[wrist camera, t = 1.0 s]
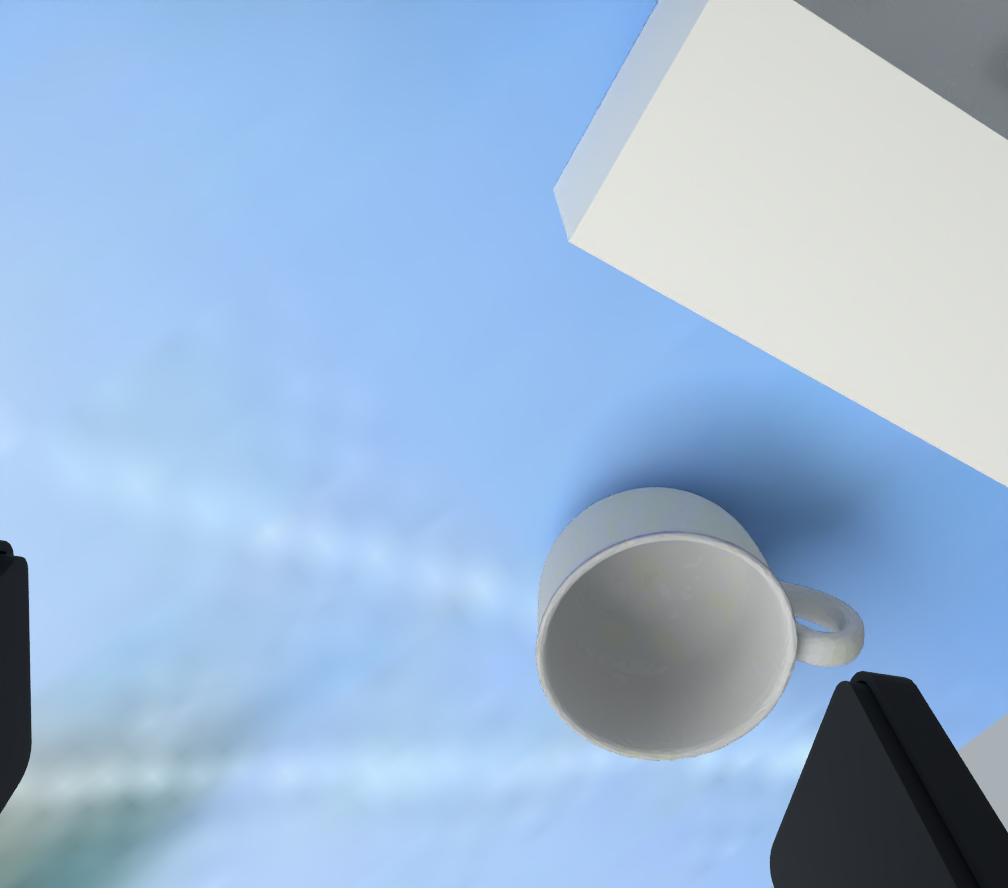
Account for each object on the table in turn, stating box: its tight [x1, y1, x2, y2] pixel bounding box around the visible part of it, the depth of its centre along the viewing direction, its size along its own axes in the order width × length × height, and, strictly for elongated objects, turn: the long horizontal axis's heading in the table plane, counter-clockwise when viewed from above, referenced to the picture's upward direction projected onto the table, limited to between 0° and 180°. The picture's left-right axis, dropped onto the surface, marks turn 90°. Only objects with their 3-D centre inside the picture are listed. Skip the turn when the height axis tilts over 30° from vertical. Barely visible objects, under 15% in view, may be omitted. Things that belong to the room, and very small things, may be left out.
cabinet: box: [553, 0, 1008, 487], centre depth 35 cm, size 20×9×10 cm, turn 61°
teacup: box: [536, 487, 864, 761], centre depth 43 cm, size 14×11×8 cm
